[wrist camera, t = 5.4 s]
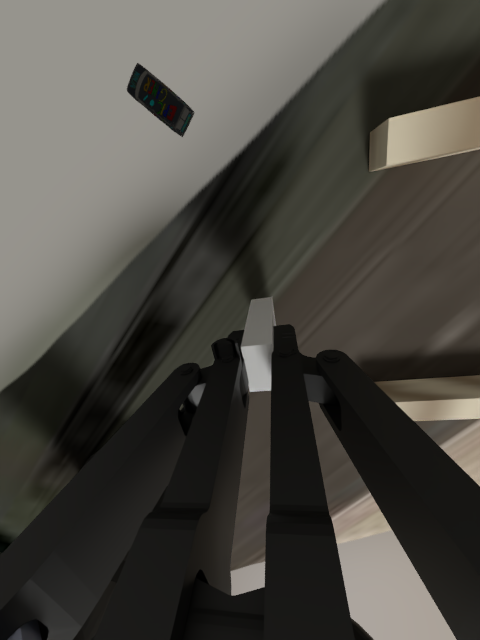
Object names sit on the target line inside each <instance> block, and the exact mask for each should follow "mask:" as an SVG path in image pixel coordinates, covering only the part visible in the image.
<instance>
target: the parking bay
mask: <svg viewBox="0 0 480 640" xmlns="http://www.w3.org/2000/svg"><path fill="white" fill-rule="evenodd" d="M479 149H480V97H476V98H471V99H467V100H463V101H459V102H455V103H450V104H446V105H442V106H438V107H434V108H430V109H425V110H421V111H417V112H413V113H409V114H404V115H400V116H396V117H392V118H389V119H387V120H386V121H385V122H383V123H382V124H381V125H379V126H378V127H377V128H375V129H374V130H373V131H371V132H370V150H369V172H372V171H377V170H382V169H386V168H391V167H396V166H401V165H406V164H411V163H416V162H420V161H425V160H430V159H435V158H440V157H445V156H450V155H454V154H459V153H464V152H469V151H474V150H479ZM375 383H376V384H377V385H378V386H379V387H380V388H381V389H382V390H383V391H384V392H385V393H386V394H387V395H388V396H389V397H390V398H391V399H392V400H393V401H394V402H395V403H396V404H397V405H398V406H399V407H400V408H401V409H402V410H403V411H404V412H405V413H406V414H407V415H408V416H409V417H410V418H411V419H412V420H413V421H428V420H455V419H480V375H474V376H458V377H443V378H427V379H411V380H396V381H380V382H375Z"/></svg>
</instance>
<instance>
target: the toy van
mask: <svg viewBox="0 0 480 640" xmlns="http://www.w3.org/2000/svg"><path fill="white" fill-rule="evenodd" d="M127 92H128V93H129V94H130V95H131V96H132V97H133V98H134V99H135V100H136V101H138V102H139V103H140V104H141V105H143V106H144V107H145V108H146V109H147V110H148V111H150V112H151V113H152V114H153V115H154V116H156V117H157V118H158V119H159V120H160V121H162V122H163V123H164V124H166V125H167V126H168V127H169V128H170V129H171V130H173V131H174V132H176V133H177V134H178V135H180V136H181V137H183V136H184V134H185V132H186V130H187V128H188V126H189V124H190V122H191V119H192V118H193V115H194V111H193V110H192V109H191V108H190V107H189V106H188V105H187V104H186V103H185V102H184V101H183V100H182V99H181V98H180V97H178V96H177V95H176V94H175V93H174V92H173V91H172V90H171V89H170V88H168V87H167V86H166V85H165V84H164V83H163V82H161V81H160V80H159V79H158V78H157V77H155V76H154V75H153V74H152V73H150V72H149V71H148V70H147V69H146V68H144V67H143V66H142V65H140V64H139V63H137V64H136V66H135V68H134V70H133V72H132V75H131V77H130V81H129V83H128V86H127Z"/></svg>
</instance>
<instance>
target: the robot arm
mask: <svg viewBox="0 0 480 640" xmlns="http://www.w3.org/2000/svg"><path fill="white" fill-rule="evenodd" d="M211 347H212V351H213V355H214V358H215V361H214V363H213V365H212V366H209V367H206V368H202V369H200V367H199V365H198V364H196V363H186V364H183V365H181V366H179V367H178V368H177V369H175V370H174V371H173V372H172V373H171V375H170V376H169V377H168V378H167V379H166V380H165V381H164V382H163V383H162V384H161V385H160V386H159V387H158V388H157V389H156V390H155V392H154V393H153V394H152V395H151V396H150V397H149V398H148V399H147V400H146V401H145V402H144V403H143V404H142V405H141V406H140V408H139V409H138V410H137V411H136V412H135V413H134V414H133V415H132V416H131V417H130V418H129V419H128V420H127V421H126V422H125V423H124V425H123V426H122V427H121V428H120V429H119V430H118V431H117V432H116V433H115V434H114V435H113V436H112V437H111V438H110V439H109V440H108V442H107V443H106V444H105V445H104V446H103V447H102V448H101V449H100V450H98V451H97V452H95V453H94V454H92V455H91V456H90V457H89V459H88V460H87V462H86V463H85V464H84V466H83V467H82V468H81V470H80V471H79V472H78V473H77V474H76V476H75V477H74V478H73V479H72V480H71V481H70V482H69V483H68V484H67V485H66V486H65V487H64V488H63V489H62V490H61V491H60V493H59V494H58V495H57V496H56V497H55V498H54V499H53V500H52V501H51V502H50V503H49V504H48V505H47V506H46V507H45V509H44V510H43V511H42V512H41V513H40V514H39V515H38V516H37V517H36V518H35V519H34V520H33V521H32V522H31V523H30V524H29V526H28V527H27V528H26V529H25V530H24V531H23V532H22V533H21V534H20V535H19V536H18V537H17V538H16V539H15V540H14V541H13V543H12V544H11V545H10V546H9V547H8V548H7V549H6V550H5V551H4V552H3V553H1V552H0V640H373V638H372V637H371V636H370V635H369V634H368V633H367V632H366V631H365V630H364V629H363V628H362V627H361V626H360V625H359V624H358V623H356V622H355V621H354V620H353V619H351V617H350V612H349V607H348V601H347V597H346V591H345V586H344V581H343V575H342V570H341V565H340V559H339V554H338V549H337V543H336V538H335V533H334V528H333V523H332V519H331V517H330V515H329V511H328V506H327V500H326V495H325V489H324V484H323V478H322V473H321V467H320V462H319V456H318V451H317V445H316V440H315V434H314V429H313V423H312V418H311V412H310V407H309V402H308V401H312V402H317V403H319V405H320V408H321V409H322V411H323V413H324V415H325V416H326V418H327V420H328V421H329V423H330V425H331V426H332V428H333V430H334V432H335V433H336V435H337V437H338V438H339V440H340V442H341V444H342V445H343V447H344V449H345V450H346V452H347V454H348V455H349V457H350V459H351V461H352V462H353V464H354V466H355V467H356V469H357V471H358V472H359V474H360V476H361V478H362V479H363V481H364V483H365V484H366V486H367V488H368V489H369V491H370V493H371V495H372V496H373V498H374V500H375V501H376V503H377V505H378V506H379V508H380V510H381V512H382V513H383V515H384V517H385V518H386V520H387V522H388V523H389V525H390V527H391V529H392V530H393V532H394V534H395V535H396V537H397V539H398V540H399V542H400V544H401V545H402V547H403V549H404V551H405V552H406V554H407V556H408V557H409V559H410V561H411V562H412V564H413V566H414V568H415V569H416V571H417V573H418V574H419V576H420V578H421V579H422V581H423V583H424V584H425V586H426V588H427V590H428V592H429V593H430V595H431V597H432V598H433V600H434V602H435V603H436V605H437V606H438V609H439V610H440V612H441V613H442V615H443V617H444V619H445V620H446V622H447V624H448V625H449V627H450V629H451V630H452V632H453V634H454V636H455V637H456V639H457V640H480V486H479V485H478V484H477V483H476V482H475V481H474V480H473V479H472V478H471V477H470V476H469V475H468V474H467V473H466V472H465V471H464V470H462V469H461V468H460V467H459V466H458V465H457V464H456V463H455V462H454V461H453V460H452V459H451V458H450V457H449V456H448V455H447V454H446V453H445V452H444V451H443V450H442V449H441V448H440V447H439V446H438V445H437V444H436V443H435V442H434V441H433V440H432V439H431V438H430V437H429V436H428V435H427V434H426V433H425V432H424V431H423V430H422V429H421V428H420V427H419V426H418V425H417V424H416V423H415V422H414V421H413V420H412V419H411V418H410V417H409V416H408V415H407V414H406V413H405V412H404V411H403V410H402V409H401V408H400V407H399V406H398V405H397V404H396V403H395V402H394V401H393V400H392V399H391V398H390V397H389V396H388V395H387V394H386V393H385V392H384V391H383V390H382V389H381V388H380V387H379V386H378V385H377V384H376V383H375V382H374V381H373V380H372V379H371V378H370V377H369V376H368V375H366V374H365V373H364V372H363V371H362V370H361V369H360V368H359V367H358V366H357V365H356V364H355V363H354V362H353V361H352V360H351V359H350V358H349V357H348V356H347V355H346V354H345V353H343V352H341V351H338V350H325V351H322V352H320V353H318V354H317V356H316V358H312V357H307V356H304V355H302V354H301V353H300V352H299V350H298V346H297V340H296V335H295V329H294V327H293V326H291V325H290V324H288V325H279V326H276V322H275V314H274V307H273V300H272V297H268V298H260V299H253V300H251V303H250V308H249V312H248V316H247V321H246V325H245V330H239V331H233V332H232V333H231V334H230V335H229V336H228V338H223V339H220V340H217V341H216V342H214V343H213V344H212V345H211ZM248 385H249V389H250V392H255V391H271V460H270V513H269V515H268V516H267V524H266V558H265V587H264V588H260V589H257V590H253V591H250V592H246V593H243V594H239V595H236V596H231V574H230V563H231V552H232V544H233V535H234V526H235V518H236V509H237V500H238V492H239V483H240V475H241V466H242V457H243V449H244V440H245V431H246V423H247V414H248V405H249V395H248ZM182 403H183V406H184V407H183V408H182V409H181V410H179V408H180V406H181V405H182Z"/></svg>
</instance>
